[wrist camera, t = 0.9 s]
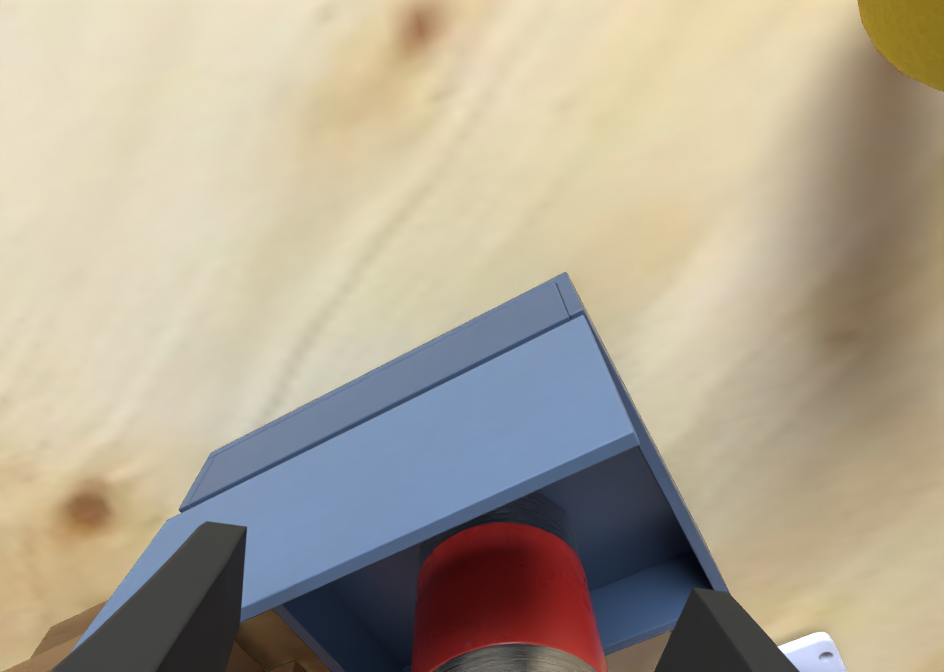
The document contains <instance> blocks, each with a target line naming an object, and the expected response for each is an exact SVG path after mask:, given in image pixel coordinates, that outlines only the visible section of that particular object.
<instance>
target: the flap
mask: <svg viewBox="0 0 944 672" xmlns="http://www.w3.org/2000/svg"><path fill="white" fill-rule="evenodd" d="M639 444H640V441H639V439H638V437H637V434H636V432H635V430H634V428H633V425H632V423H631V421H630V418H629V416H628V414H627V412H626V409H625V407H624V405H623V402H622V400H621V398H620V396H619V393H618V391H617V389H616V386H615V384H614V382H613V380H612V377H611V375H610V373H609V370H608V368H607V366H606V364H605V361H604V359H603V357H602V354H601V352H600V350H599V348H598V345H597V343H596V341H595V338H594V336H593V334H592V332H591V329H590V327H589V325H588V323H587V321H586V319H585V317H584V315H581V316H579V317H577V318H575V319H573V320H571V321H569V322H567V323H565V324H563V325H561V326H559V327H557V328H555V329H553V330H551V331H549V332H547V333H545V334H543V335H541V336H539V337H537V338H535V339H533V340H531V341H529V342H527V343H525V344H523V345H521V346H519V347H517V348H515V349H513V350H511V351H509V352H506V353H504V354H502V355H500V356H498V357H496V358H494V359H492V360H490V361H488V362H486V363H484V364H482V365H480V366H478V367H476V368H474V369H472V370H470V371H468V372H466V373H464V374H462V375H460V376H458V377H456V378H454V379H452V380H450V381H448V382H446V383H444V384H442V385H440V386H438V387H436V388H434V389H432V390H430V391H428V392H426V393H424V394H421V395H419V396H417V397H415V398H413V399H411V400H409V401H407V402H405V403H403V404H401V405H399V406H397V407H395V408H393V409H391V410H389V411H387V412H385V413H383V414H381V415H379V416H377V417H375V418H373V419H371V420H369V421H367V422H365V423H363V424H361V425H359V426H357V427H355V428H353V429H351V430H349V431H347V432H345V433H343V434H341V435H339V436H336V437H334V438H332V439H330V440H328V441H326V442H324V443H322V444H320V445H318V446H316V447H314V448H312V449H310V450H308V451H306V452H304V453H302V454H300V455H298V456H296V457H294V458H292V459H290V460H288V461H286V462H284V463H282V464H280V465H278V466H276V467H274V468H272V469H270V470H268V471H266V472H264V473H262V474H260V475H258V476H256V477H254V478H251V479H249V480H247V481H245V482H243V483H241V484H239V485H237V486H235V487H233V488H231V489H229V490H227V491H225V492H223V493H221V494H219V495H217V496H215V497H213V498H211V499H209V500H207V501H205V502H203V503H201V504H199V505H197V506H195V507H193V508H191V509H189V510H187V511H185V512H183V513H181V514H179V515H177V516H175V517H173V518H171V519H169V520H167V521H166V522H165V524H164V525H163V527H162V528H161V529H160V531H159V532H158V533H157V535H156V536H155V537H154V539H153V540H152V542H151V543H150V544H149V546H148V547H147V548H146V550H145V551H144V552H143V554H142V555H141V557H140V558H139V559H138V561H137V562H136V563H135V565H134V566H133V567H132V569H131V570H130V572H129V573H128V574H127V576H126V577H125V578H124V580H123V581H122V583H121V584H120V585H119V587H118V588H117V589H116V591H115V592H114V593H113V595H112V596H111V598H110V599H109V600H108V602H107V603H106V604H105V606H104V607H103V608H102V610H101V611H100V613H99V614H98V615H97V617H96V618H95V619H94V621H93V622H92V623H91V625H90V626H89V628H88V629H87V630H86V632H85V633H84V634H83V636H82V637H81V639H80V640H79V641H78V643H77V644H76V645H75V647H74V648H73V649H72V651H74V650H75V649H76V648H77V647H78V646H79V645H80V644H82V643H83V642H84V641H85V640H86V639H87V638H88V637H89V636H90V635H92V634H93V633H94V632H95V631H96V630H97V629H98V628H99V627H100V626H101V625H102V624H103V623H104V622H105V621H106V620H107V619H108V618H110V617H111V616H112V615H113V614H114V613H115V612H116V611H117V610H118V609H119V608H120V607H121V606H122V605H123V604H124V603H125V602H126V601H127V600H128V599H129V598H130V597H131V596H133V595H134V594H135V593H136V592H137V591H138V590H139V589H140V588H141V587H142V586H143V585H144V584H145V583H146V582H147V581H148V580H149V579H150V578H151V577H152V576H153V575H154V574H155V573H156V572H157V570H158V569H159V568H160V567H161V566H162V565H163V564H164V563H165V562H166V561H167V560H168V559H169V558H170V557H171V556H172V555H173V554H174V553H175V552H176V551H177V549H178V548H179V547H180V546H181V545H182V544H183V543H184V542H185V541H186V540H187V539H188V537H189V536H190V535H191V534H192V533H193V532H194V531H195V530H196V529H197V527H198V526H199V525H201V524H203V523H204V522H206V521H210V522H217V523H224V524H232V525H239V526H247V537H246V550H245V564H244V578H243V592H242V605H241V619H240V623H241V622H243V621H246V620H248V619H250V618H252V617H255V616H257V615H259V614H261V613H264V612H266V611H268V610H270V609H273V608H275V607H277V606H279V605H282V604H284V603H286V602H288V601H291V600H293V599H295V598H297V597H299V596H302V595H304V594H306V593H308V592H311V591H313V590H315V589H317V588H320V587H322V586H324V585H326V584H329V583H331V582H333V581H335V580H338V579H340V578H342V577H344V576H347V575H349V574H351V573H353V572H356V571H358V570H360V569H362V568H365V567H367V566H369V565H371V564H373V563H376V562H378V561H380V560H382V559H385V558H387V557H389V556H391V555H394V554H396V553H398V552H400V551H403V550H405V549H407V548H409V547H412V546H414V545H416V544H418V543H421V542H423V541H425V540H427V539H430V538H432V537H434V536H436V535H438V534H441V533H443V532H445V531H447V530H450V529H452V528H454V527H456V526H459V525H461V524H463V523H465V522H468V521H470V520H472V519H474V518H477V517H479V516H481V515H483V514H486V513H488V512H490V511H492V510H495V509H497V508H499V507H501V506H504V505H506V504H508V503H510V502H512V501H515V500H517V499H519V498H521V497H524V496H526V495H528V494H530V493H533V492H535V491H537V490H539V489H542V488H544V487H546V486H548V485H551V484H553V483H555V482H557V481H560V480H562V479H564V478H566V477H569V476H571V475H573V474H575V473H577V472H580V471H582V470H584V469H586V468H589V467H591V466H593V465H595V464H598V463H600V462H602V461H604V460H607V459H609V458H611V457H613V456H616V455H618V454H620V453H622V452H625V451H627V450H629V449H631V448H634V447H636V446H638V445H639ZM72 651H71V652H72ZM71 652H70V653H71Z"/></svg>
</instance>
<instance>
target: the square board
mask: <svg viewBox="0 0 944 672" xmlns="http://www.w3.org/2000/svg"><path fill="white" fill-rule="evenodd" d="M107 602H108V600H107V601H105V602H103V603H101V604H99V605H97V606H95V607H93V608H91V609H89V610H86V611H84V612H82V613H80V614H78V615H76V616H74V617H72V618H70V619H67V620H65V621H63V622H61V623H59V624H57V625H55V626H53V627H51V628H50V630H49V631H48V633H47V634H46V636H45V637H44V639H43V640H42V642H41V643H40V645H39V646H38V648H37V649H36V651H35V652H34V654H33V655H32V656H31V658H30V659H29V660H27V661H25V662H22V663H20V664H18V665H16V666H14V667H12V668H10V669H7V670H5V671H3V672H50V671H51V670H52V669H53V668H54V667H55V666H56V665H58V664H59V663H60V662H61V661H62V660H63V659H64V658H66V657H67V656H68V655H69V654H70V652H71V651H72V649H73V648H74V647H75V645H76V644H77V643H78V641H79V640H80V639H81V637H82V636H83V634H84V633H85V632H86V630H87V629H88V628H89V626H90V625H91V623H92V622H93V621H94V619H95V618H96V617H97V615H98V614H99V613H100V611H101V610H102V608H103V607H104V606H105V604H106V603H107ZM225 672H265V671H264V670H263V669H262V668H261V667H260V666H259V665H258V664H257V663H256V662H255V661H254V660H253V659H252V658H251V657H250V656H249V655H248V654H247V653H246V652H245V651H244V650H243V649H242V648H241V647H240V646H239V645H238V644H237V643H236V642H235V641H234V645H233V648H232V651H231V655H230V658H229V661H228V664H227V668H226V671H225ZM268 672H306V671H305V670H304V669H303V668H302V667H301V666H300V665H299V664H298V663H297V662H296V661H292V662H290V663H287V664H285V665H283V666H280V667H278V668H275V669H273V670H271V671H268Z"/></svg>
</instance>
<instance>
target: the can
mask: <svg viewBox="0 0 944 672" xmlns="http://www.w3.org/2000/svg"><path fill="white" fill-rule="evenodd" d="M411 672H609V671H608V667H607V663H606V659H605V655H604V651H603V646H602V642H601V638H600V634H599V630H598V625H597V621H596V617H595V613H594V609H593V605H592V600H591V596H590V592H589V588H588V584H587V579H586V575H585V572H584V568H583V565H582V563H581V558H580V554H579V550H578V546H577V541H576V537H575V533H574V530H573V527H572V525H571V523H570V521H569V519H568V517H567V516H566V515H565V513H564V512H563V511H562V510H561V509H560V508H559V507H558V506H557V505H556V504H555V503H553V502H552V501H551V500H550V499H548V498H546V497H544V496H543V495H541V494H538V493H536V492H533V493H530V494H528V495H526V496H524V497H521V498H519V499H517V500H515V501H512V502H510V503H508V504H506V505H504V506H501V507H499V508H497V509H495V510H492V511H490V512H488V513H486V514H483V515H481V516H479V517H477V518H474V519H472V520H470V521H468V522H465V523H463V524H461V525H459V526H456V527H454V528H452V529H450V530H447V531H445V532H443V533H441V534H438V535H436V536H434V537H432V538H430V539H427V540H425V541H423V542H421V543H420V557H419V572H418V579H417V588H416V603H415V618H414V632H413V647H412V662H411Z"/></svg>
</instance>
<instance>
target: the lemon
mask: <svg viewBox="0 0 944 672" xmlns="http://www.w3.org/2000/svg"><path fill="white" fill-rule="evenodd" d="M857 1H858V5H859V10H860V15H861V20H862V23H863V25H864V27H865V29H866V31H867V33H868V35H869V36H870V38H871V40H872V42H873V44H874V46H875V47H876V49H877V50H878V51H879V52H880V53H881V54H882V55H883V56H884V57H885V58H886V59H887V60H888V61H889V62H890V63H891V64H893V65H894V66H895V67H896V68H897V69H898V70H899V71H901V72H902V73H903V74H905V75H907V76H909V77H911V78H913V79H915V80H917V81H920V82H922V83H924V84H926V85H928V86H930V87H933V88H935V89H937V90H939V91H942V92H944V0H857Z"/></svg>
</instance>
